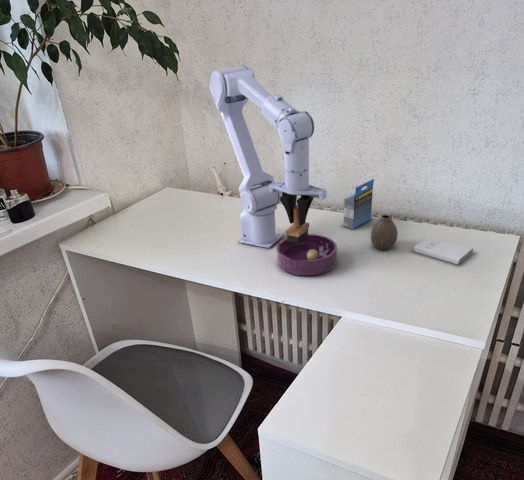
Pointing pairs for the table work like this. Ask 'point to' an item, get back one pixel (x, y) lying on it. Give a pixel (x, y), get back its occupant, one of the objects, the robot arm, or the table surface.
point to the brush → (296, 228)
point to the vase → (384, 233)
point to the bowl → (296, 255)
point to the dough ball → (312, 254)
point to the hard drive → (443, 250)
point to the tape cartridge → (358, 206)
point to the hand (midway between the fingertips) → (297, 222)
